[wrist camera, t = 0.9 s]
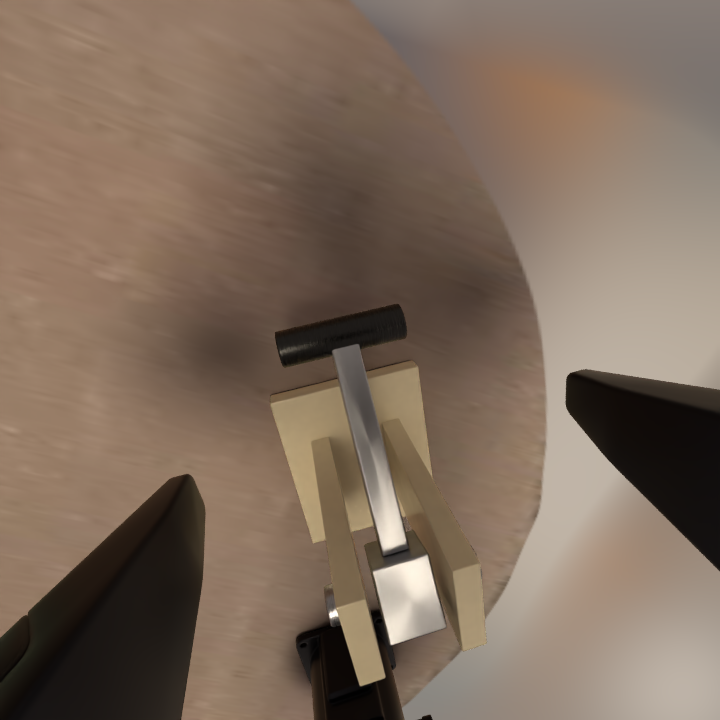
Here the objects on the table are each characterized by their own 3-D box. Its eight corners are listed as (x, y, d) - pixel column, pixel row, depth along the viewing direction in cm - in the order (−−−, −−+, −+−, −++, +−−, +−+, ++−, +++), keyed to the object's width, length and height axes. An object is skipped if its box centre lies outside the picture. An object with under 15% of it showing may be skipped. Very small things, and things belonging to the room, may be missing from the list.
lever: (277, 335, 17) (271, 328, 15) (391, 308, 17) (403, 297, 15) (347, 620, 17) (352, 660, 14) (460, 583, 17) (483, 616, 15)
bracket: (269, 395, 22) (266, 561, 12) (412, 359, 22) (520, 486, 13) (311, 531, 26) (335, 741, 16) (431, 497, 26) (524, 674, 17)
